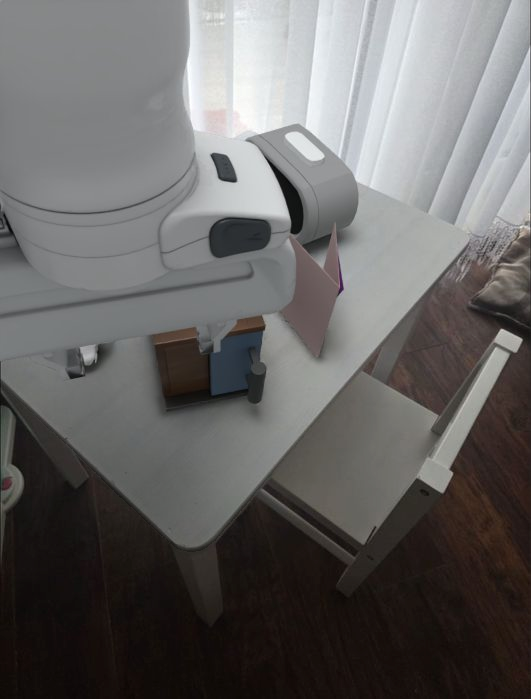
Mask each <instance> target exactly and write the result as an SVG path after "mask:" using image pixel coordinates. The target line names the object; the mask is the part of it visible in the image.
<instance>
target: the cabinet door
mask: <svg viewBox="0 0 531 699" xmlns="http://www.w3.org/2000/svg"><path fill="white" fill-rule="evenodd" d="M263 338H264V331H260V332H254V333H249V334H243V335H237V336H232V337H226V338H223V339H221V340H220V352H215V353H214V352H213V353H209V361H210V391H211V395H212V396H213V395H218V394H223V393H228V392H233V391H238V390H243V389H248V395H247V401H248V402H249V403H250V404H251V405H258V404H260V403H261V402H262V400H263V395H264V387H265V383H266V382H265V381H266V377H267V376H266V375H267V370H268V368H267V365H266V364H265V363H264V362H262V361H261V352H262V345H263Z"/></svg>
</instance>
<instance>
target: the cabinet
mask: <svg viewBox="0 0 531 699" xmlns="http://www.w3.org/2000/svg"><path fill="white" fill-rule="evenodd" d="M260 331H263V332H265V331H266V322H265V319H264V315H260V316H254V317H249V318H243V319H237V324H236V325H235V326H234V327H233V329H232V330H231V331H230V332H229V333H228V334H227V335H226V336H225V337H224V338H226V337H232V336H237V335H243V334H249V333H254V332H260ZM151 338H152V343H153V347H154V352H155V358H156V363H157V369H158V374H159V380H160V385H161V391H162V396H163V402H164V407H165V411H166V412H171V411H174V410H180V409H185V408H190V407H194V406H195V407H196V406H201V405H205V404H209V403H215V402H220V401H225V400H230V399H235V398H239V397H240V398H241V397H245V396H248V389H243V390H238V391H233V392H228V393H223V394H218V395H213V396H212V395H211V391H210V361H209V354H203V355H200V352H199V346H198V344H197V339H196V330H195V327H192V328H186V329H181V330H175V331H169V332H164V333H158V334H152V335H151Z"/></svg>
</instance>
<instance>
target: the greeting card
mask: <svg viewBox="0 0 531 699" xmlns="http://www.w3.org/2000/svg"><path fill="white" fill-rule="evenodd" d="M337 238H338V237H337V231H336V223H335V224H334V228H333V232H332V233H331V237H330V240H329V244H328V249H327V251H326V255H325V260H324V263H323V268H322V267H321V265H320V264H319V263H318V262H317V261H316V260H315V258H313V257H312V255H311V254H309V252H308V251H307V250H306V248H304V246H303V245H300V244H299V243H298V242H297V241H296V239H295V238H294V237H293V236H292V235H291V234H289V240H290V242H291V245H292V247H293V250H294V252H295V257H296V282H295V290H294V296H293V299H292V301H291V302H290V303H289V304H288V305H287V306H286V307H284V308H283V309H282V310H281V311H279V313H280V314H281V315H282V316H283V318H284V319H285V320H286V321H287V322H288V323H289V325H290V326H291V327H292V329H293V330H294V331H295V332H296V334H297V335H298V336H299V337H300V338H301V339H302V341H303V342H304V343H305V345H306V346H307V347H308V349H309V350H310V351H311V352H312V353H313V355H314V356H315V357H316V358H317V359H319V357H320V353H321V350H322V348H323V344H324V341H325V338H326V335H327V332H328V329H329V325H330V321H331V318H332V315H333V311H334V308H335V305H336V301H337V298H338V297H339V296H340V295H341V294H342V292H343V291H344V290H345V287H344V281H343V274H342V268H341V261H340V256H339V249H338V243H337V242H338V241H337Z"/></svg>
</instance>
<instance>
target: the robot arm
mask: <svg viewBox="0 0 531 699" xmlns="http://www.w3.org/2000/svg"><path fill="white" fill-rule="evenodd" d="M189 2H190V1H189V0H0V206H1V209H0V362H2V361H3V362H4V361H10V360H15V359H20V358H27V357H28V358H29V360H30V361H31V362H34V363H36V364H39V365H41V366H43V367H46V368H48V369H51V370H54V371H57V373H58V375H59V377H60V378H61V380H62V382H66V381H70V380H76V379H81V378H85V377H86V370H85V366H86V365H85V364H84V358H83V355H82V353H81V351H80V348H79V347H84V346H90V345H95V344H99V345H100V344H107V343H111V342H118V341H123V340H129V339H134V338H141V337H147V336H152V334H158V333H164V332H169V331H175V330H181V329H186V328H192V327H195V330H196V339H197V344H198V346H199V352H200V355H203V354H209V353H213V352H214V353H215V352H220V340H221V339H223V338H224V337H225V336H226V335H227V334H228V333H229V332H230V331H231V330H232V329H233V327H234V326H235V325H236V324H237V319H243V318H249V317H254V316H260V315H262V316H265V315H266V316H267V315H272V314H277V313H280V311H281V310H282V309H283V308H284V307H286V306H287V305H288V304H289V303H290V302H291V301H292V299H293V296H294V290H295V282H296V257H295V252H294V250H293V247H292V245H291V242H290V240H289V234H290V230H291V220H290V215H289V211H288V208H287V205H286V201H285V198H284V196H283V193H282V190H281V188H280V185H279V183H278V181H277V179H276V177H275V175H274V173H273V171H272V169H271V167H270V165H269V164H268V162H267V160H266V159H265V157H264V156H263V154H262V153H261V151H260V150H259V149H258V147H257V146H256V145H254V144H252V143H250V142H246V141H245V140H242V139H238V138H232V137H228V136H222V135H217V134H213V133H208V132H205V131H200V130H196V129H194V128H193V124H192V120H191V117H190V115H189V112H188V110H187V107H186V102H185V98H184V79H185V72H186V68H187V64H188V60H189V56H190V50H191V21H190V20H191V18H190V3H189Z"/></svg>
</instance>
